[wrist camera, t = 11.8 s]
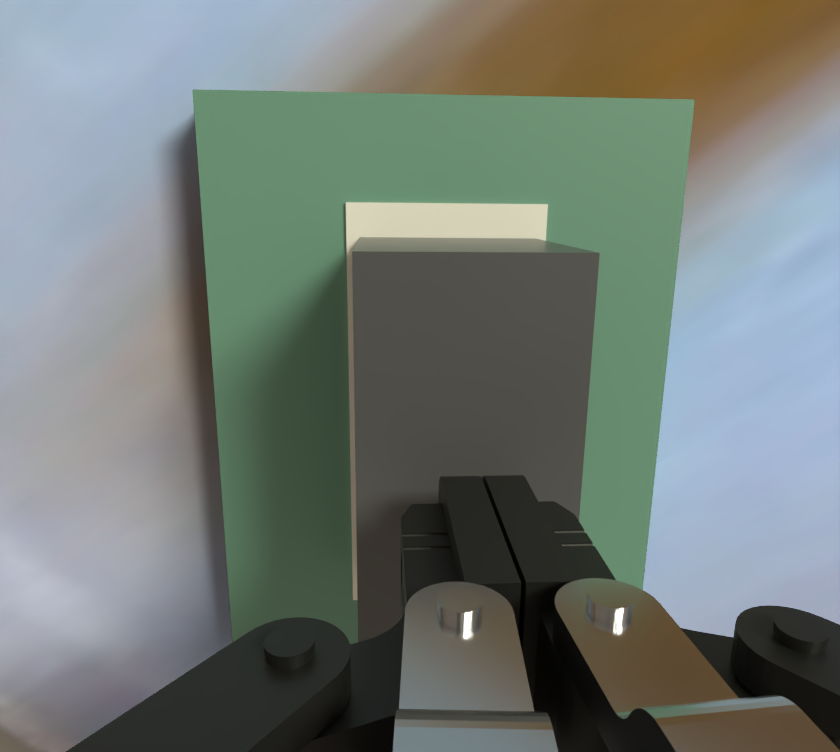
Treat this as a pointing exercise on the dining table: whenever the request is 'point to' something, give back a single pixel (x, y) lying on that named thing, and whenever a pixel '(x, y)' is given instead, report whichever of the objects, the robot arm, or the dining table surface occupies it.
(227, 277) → the board
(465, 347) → the block
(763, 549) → the dining table surface
